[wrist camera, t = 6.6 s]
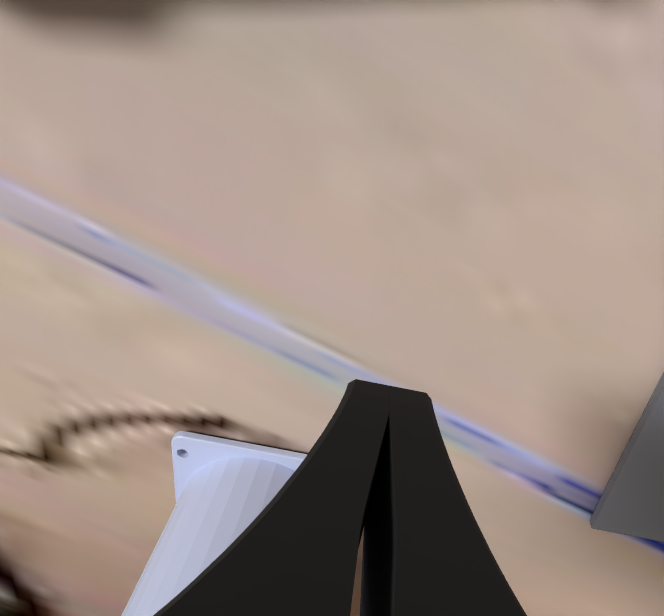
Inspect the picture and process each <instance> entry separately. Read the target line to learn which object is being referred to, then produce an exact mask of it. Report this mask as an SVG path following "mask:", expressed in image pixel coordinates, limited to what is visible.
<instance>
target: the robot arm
mask: <svg viewBox="0 0 664 616" xmlns="http://www.w3.org/2000/svg"><path fill="white" fill-rule="evenodd" d="M171 443H172V456H173V469H174V482H175V495H176V506H175V508H174V510H173V512H172V514H171V516H170V518H169V520H168V522H167V524H166V526H165V528H164V530H163V532H162V534H161V536H160V538H159V540H158V542H157V544H156V546H155V548H154V550H153V553H152V555H151V557H150V559H149V561H148V563H147V565H146V567H145V569H144V571H143V573H142V575H141V577H140V579H139V581H138V583H137V585H136V587H135V589H134V591H133V593H132V595H131V597H130V599H129V602H128V604H127V606H126V608H125V610H124V612H123V614H122V616H350V610H351V602H352V593H353V585H354V577H355V569H356V561H357V553H358V548H359V544H360V540H361V536H362V532H363V528H364V541H363V562H362V582H361V604H360V616H527V615H526V614H525V612H524V610H523V608H522V607H521V605H520V603H519V602H518V600H517V598H516V596H515V595H514V593H513V591H512V589H511V588H510V586H509V584H508V582H507V581H506V579H505V577H504V575H503V573H502V571H501V570H500V568H499V566H498V564H497V562H496V560H495V558H494V556H493V554H492V553H491V551H490V549H489V547H488V544H487V542H486V540H485V538H484V536H483V534H482V532H481V530H480V528H479V526H478V524H477V522H476V520H475V518H474V516H473V513H472V511H471V509H470V507H469V505H468V502H467V500H466V498H465V495H464V493H463V491H462V488H461V486H460V483H459V481H458V479H457V476H456V474H455V471H454V469H453V466H452V464H451V461H450V459H449V456H448V453H447V450H446V448H445V445H444V442H443V439H442V436H441V433H440V430H439V427H438V424H437V420H436V417H435V413H434V409H433V405H432V401H431V399H430V397H429V396H428V394H427V393H424V392H419V391H414V390H409V389H403V388H398V387H393V386H388V385H383V384H378V383H372V382H367V381H362V380H357V379H356V380H354V381H352V382H350V383H348V386H347V389H346V392H345V394H344V396H343V398H342V400H341V402H340V404H339V406H338V408H337V410H336V412H335V414H334V415H333V417H332V419H331V420H330V422H329V423H328V425H327V427H326V428H325V430H324V431H323V433H322V434H321V436H320V437H319V439H318V440H317V442H316V443H315V444H314V446H313V447H312V449H311V450H310V452H309V453H308V454H303V453H298V452H292V451H287V450H282V449H276V448H271V447H266V446H260V445H255V444H250V443H245V442H239V441H234V440H229V439H223V438H218V437H213V436H207V435H202V434H197V433H191V432H186V431H179V432H177V433H176V434H175V435H174V437H173V439H172V442H171ZM184 450H186V451H184ZM364 523H365V524H364Z"/></svg>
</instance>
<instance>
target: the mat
mask: <svg viewBox="0 0 664 616" xmlns="http://www.w3.org/2000/svg"><path fill="white" fill-rule="evenodd" d="M590 524H591V528H593V529H598V530H604V531H609V532H614V533H619V534H624V535H630V536H635V537H640V538H645V539H651V540H656V541H661V542H664V373H663V375H662V377H661V379H660V381H659V383H658V385H657V387H656V389H655V391H654V393H653V395H652V397H651V399H650V401H649V403H648V405H647V407H646V409H645V411H644V413H643V415H642V417H641V419H640V421H639V423H638V425H637V427H636V428H635V430H634V432H633V434H632V436H631V438H630V440H629V442H628V444H627V446H626V448H625V450H624V452H623V454H622V456H621V458H620V460H619V462H618V464H617V466H616V468H615V470H614V472H613V474H612V476H611V478H610V480H609V482H608V484H607V486H606V488H605V490H604V492H603V494H602V496H601V498H600V500H599V502H598V504H597V506H596V508H595V510H594V512H593V514H592V516H591V518H590Z"/></svg>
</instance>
